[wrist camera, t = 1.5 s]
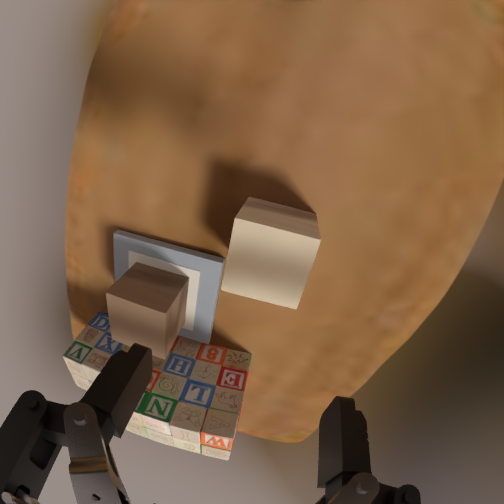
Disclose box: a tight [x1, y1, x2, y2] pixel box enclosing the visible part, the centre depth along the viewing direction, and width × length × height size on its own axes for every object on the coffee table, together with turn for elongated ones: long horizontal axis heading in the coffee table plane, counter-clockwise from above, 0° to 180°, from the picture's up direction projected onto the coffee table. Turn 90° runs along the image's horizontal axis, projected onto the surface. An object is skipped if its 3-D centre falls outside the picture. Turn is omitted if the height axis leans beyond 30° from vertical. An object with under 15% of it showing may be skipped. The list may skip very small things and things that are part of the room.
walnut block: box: [106, 262, 189, 359], centre depth 26 cm, size 6×6×6 cm
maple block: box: [221, 197, 321, 309], centre depth 23 cm, size 6×6×6 cm
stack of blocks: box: [63, 312, 252, 460], centre depth 29 cm, size 21×6×12 cm, turn 82°
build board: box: [113, 229, 225, 344], centre depth 30 cm, size 11×12×1 cm
